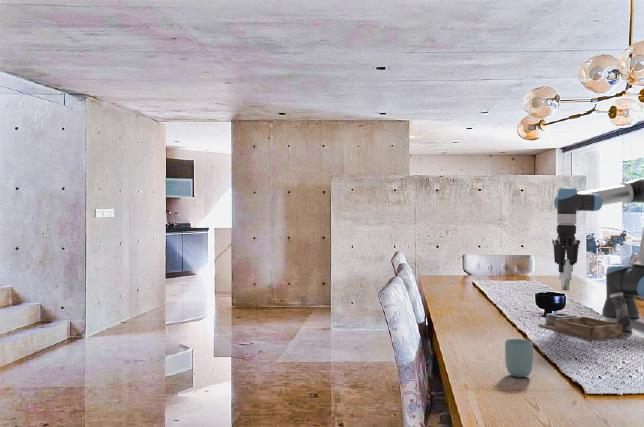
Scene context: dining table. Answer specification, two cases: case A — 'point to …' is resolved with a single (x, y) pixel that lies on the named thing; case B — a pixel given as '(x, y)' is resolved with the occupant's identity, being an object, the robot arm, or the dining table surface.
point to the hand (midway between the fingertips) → (565, 280)
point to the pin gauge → (566, 283)
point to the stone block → (621, 310)
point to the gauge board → (582, 326)
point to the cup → (519, 357)
